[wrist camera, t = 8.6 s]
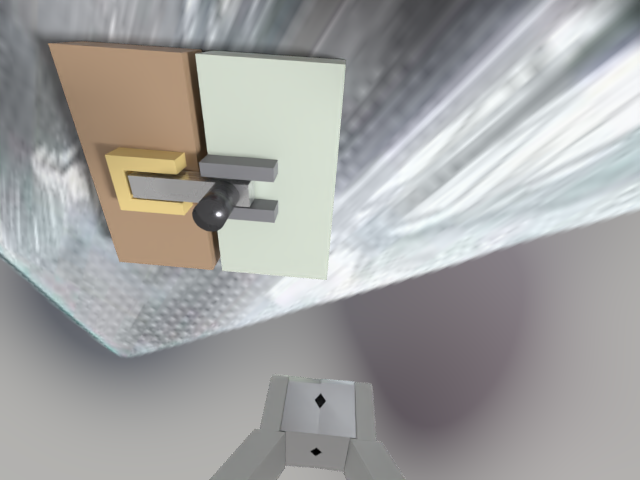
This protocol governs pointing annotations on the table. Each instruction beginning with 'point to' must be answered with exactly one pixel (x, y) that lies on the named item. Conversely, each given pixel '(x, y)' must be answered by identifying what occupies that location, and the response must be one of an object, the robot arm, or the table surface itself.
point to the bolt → (196, 194)
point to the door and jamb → (210, 149)
